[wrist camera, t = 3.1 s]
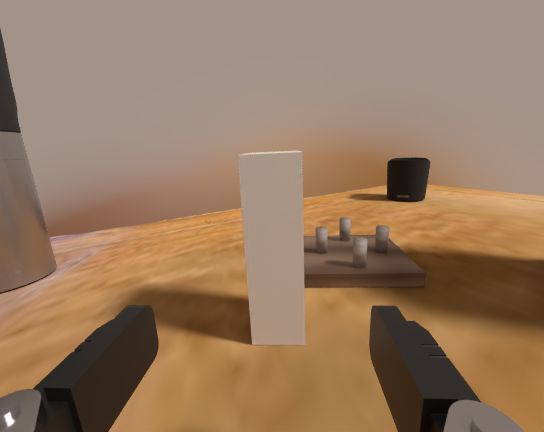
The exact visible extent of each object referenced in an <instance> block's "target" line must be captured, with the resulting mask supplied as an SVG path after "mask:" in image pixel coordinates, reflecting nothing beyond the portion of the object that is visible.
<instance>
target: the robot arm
mask: <svg viewBox="0 0 544 432" xmlns="http://www.w3.org/2000/svg"><path fill="white" fill-rule="evenodd" d="M56 266H57V265H56V261H55V257H54V254H53V250H52V246H51V242H50V239H49V234H48V231H47V227H46V224H45V220H44V216H43V213H42V209H41V205H40V201H39V198H38V194H37V191H36V186H35V183H34V179H33V176H32V172H31V168H30V164H29V161H28V158H27V154H26V150H25V146H24V143H23V139H22V135H21V131H20V127H19V123H18V117H17V106H16V100H15V96H14V92H13V88H12V83H11V79H10V74H9V69H8V64H7V59H6V53H5V48H4V43H3V38H2V34H1V30H0V292H3V291H7V290H11V289H14V288H17V287H20V286H24V285H26V284H29V283H31V282H34V281H36V280H39V279H41V278H43V277H45V276H46V275H48V274H50V273H51V272H53V271H54V270H55V269H56ZM158 344H159V343H158V335H157V330H156V324H155V319H154V313H153V309H152V307H151V306H149V305H130V306H127V307H126V308H125V309H124V310H123V311H121V312H120V313H119V314H118V315H117V316H116V317H115V318H114V319H113V320H111V321H109V322H107V323H106V324H104V325H102V326H101V327H99V328H97V329H96V330H95V331H94V332H93V333H92V334H91V335H90V336H89V337H88V338H86V339H85V342H82V343H81V344H80V345H79V346H78V347H77V348H76V349H75V351H74V352H72V353H70V354H69V355H68V356H67V357H66V358H65V359H64V360H63V361H62V362H61V363H60V364H59V365H58V366H57V367H56V368H54V369H53V370H52V371H51V372H50V373H49V374H48V375H47V376H46V377H45V378H44V379H43V380H42V381H41V382H40V383H39V384H37V385H36V386H35V387H34V388H33V389H25V390H20V391H16V392H14V393H11V394H8V395H6V396H4V397H2V398H0V432H108V431H109V430H110V428H111V427H112V425H113V423H114V422H115V420H116V419H117V417H118V416H119V414H120V413H121V411H122V409H123V408H124V406H125V405H126V403H127V402H128V400H129V398H130V397H131V395H132V394H133V392H134V391H135V389H136V388H137V386H138V384H139V383H140V381H141V380H142V378H143V377H144V375H145V374H146V372H147V370H148V369H149V367H150V366H151V364H152V363H153V361H154V359H155V357H156V355H157V351H158ZM369 345H370V355H371V360H372V363H373V366H374V369H375V371H376V374H377V377H378V379H379V382H380V385H381V387H382V390H383V393H384V395H385V398H386V401H387V403H388V406H389V409H390V411H391V414H392V417H393V419H394V422H395V425H396V427H397V430H398V432H524V431H523V430H522V429H521V428H520V427H519V426H518V425H517V424H516V423H515V422H514V421H513V420H512V419H510V418H509V417H508V416H506V415H505V414H504V413H502V412H500V411H499V410H497V409H495V408H493V407H491V406H489V405H487V404H484V403H481V401H480V400H479V399H478V397H477V396H476V395H475V393H474V392H473V391H472V389H471V388H470V386H469V385H468V384H467V382H466V381H465V380H464V378H463V377H462V376H461V374H460V373H459V372H458V370H457V369H456V368H455V366H454V365H453V364H452V362H451V361H450V360H449V358H447V357H446V354H445V353H444V351H443V350H442V349H441V347H439V346H438V343H437V342H436V341H435V339H434V338H433V337H432V335H431V334H430V333H429V331H427V330H426V329H424V328H423V327H422V326H420V325H419V324H418V323H416V322H415V321H406V320H405V318H404V317H403V315H402V314H401V312H400V311H399V309H398V308H397V307H396V306H372V309H371V323H370V343H369Z"/></svg>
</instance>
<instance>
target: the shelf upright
mask: <svg viewBox="0 0 544 432" xmlns="http://www.w3.org/2000/svg"><path fill="white" fill-rule="evenodd" d="M238 165H239V179H240V191H241V205H242V218H243V231H244V244H245V258H246V271H247V284H248V297H249V310H250V323H251V336H252V345H305V290H304V234H303V182H302V181H303V177H302V152H301V151H282V152H260V153H247V154H241V155H238Z"/></svg>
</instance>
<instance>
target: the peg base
mask: <svg viewBox="0 0 544 432" xmlns="http://www.w3.org/2000/svg"><path fill="white" fill-rule="evenodd" d="M350 223H351V219H350V218H340V236H327V230H328V229H327V228H326V227H317V228H316V236H304V285H305V287H424V283H425V274H426V273H425V272H424V271H423V270H422V269H421V268H420V267H419V266H418V265H417V264H416V263H414V262H413V261H412V260H411V259H410V258H409V257H408V256H407V255H406V254H405V253H404V252H403V251H402V250H401V249H400V248H399V247H398V246H396V245H395V244H394V243H393V242H392V241H391V240H390V239H389V238H388V236H389V227H388V226H382V225H380V226H376V235H350Z"/></svg>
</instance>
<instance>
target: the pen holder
mask: <svg viewBox="0 0 544 432" xmlns="http://www.w3.org/2000/svg"><path fill="white" fill-rule="evenodd" d="M429 168H430V161H429V160H428V159H426V158H396V159H391V160H390V161H388V167H387V197H388V199H390V200H394V201H403V202H416V201H422V200H423V199H424V198H425V194H426V188H427V181H428V174H429Z"/></svg>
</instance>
